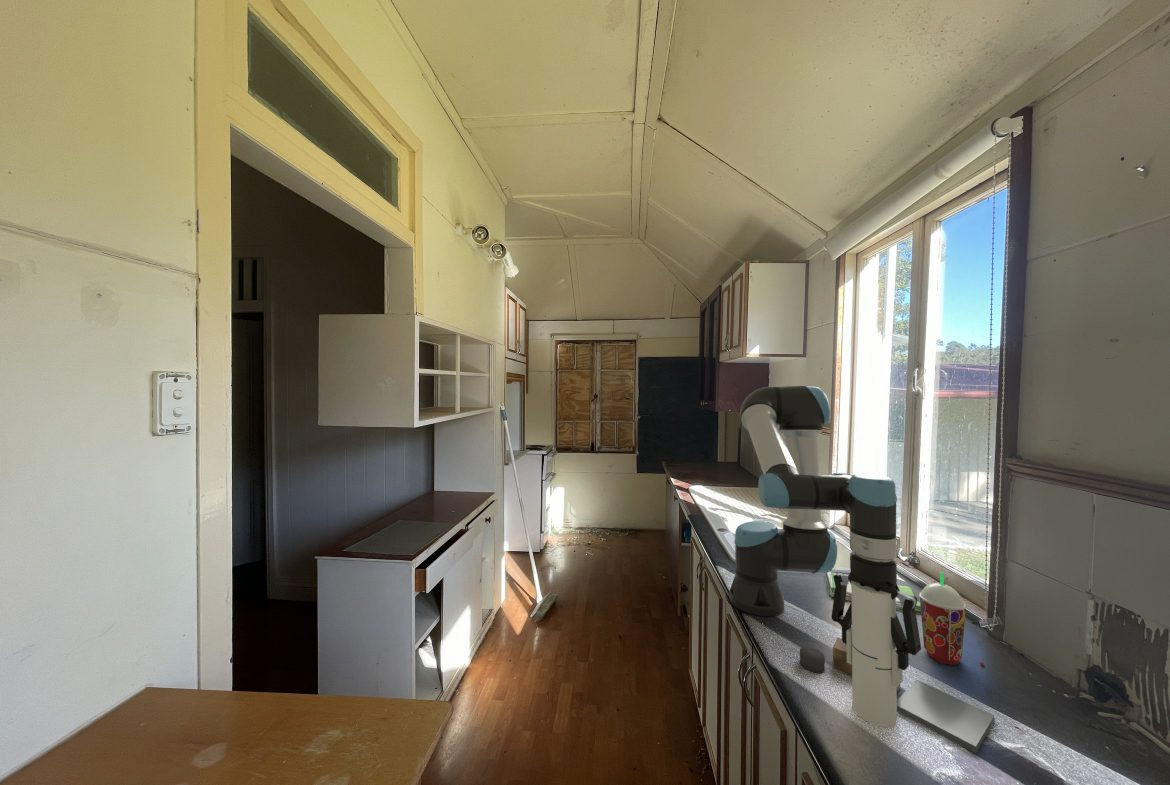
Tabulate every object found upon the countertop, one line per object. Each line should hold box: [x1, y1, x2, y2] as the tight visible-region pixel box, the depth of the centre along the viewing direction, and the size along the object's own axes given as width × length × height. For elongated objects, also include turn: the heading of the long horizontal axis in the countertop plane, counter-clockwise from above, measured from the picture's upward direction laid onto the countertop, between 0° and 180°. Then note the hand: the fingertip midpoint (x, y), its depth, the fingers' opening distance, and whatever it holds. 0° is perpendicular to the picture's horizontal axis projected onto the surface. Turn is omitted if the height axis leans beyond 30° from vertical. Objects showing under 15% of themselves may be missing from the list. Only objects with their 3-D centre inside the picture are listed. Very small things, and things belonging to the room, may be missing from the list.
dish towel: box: [825, 571, 921, 615], centre depth 128 cm, size 17×23×4 cm
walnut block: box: [832, 636, 852, 677], centre depth 94 cm, size 5×5×5 cm
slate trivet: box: [897, 679, 996, 754], centre depth 80 cm, size 12×12×1 cm
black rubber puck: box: [799, 646, 826, 674], centre depth 95 cm, size 5×5×3 cm
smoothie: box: [918, 571, 967, 666], centre depth 98 cm, size 8×8×20 cm
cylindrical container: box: [851, 581, 898, 728], centre depth 81 cm, size 7×7×25 cm
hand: (873, 671), depth 81 cm, fingers closed on cylindrical container, 7 cm apart
